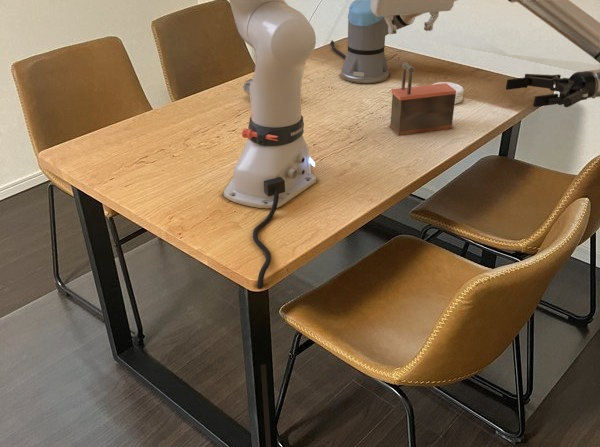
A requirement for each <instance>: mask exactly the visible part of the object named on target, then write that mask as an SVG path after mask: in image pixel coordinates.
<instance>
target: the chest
mask: <svg viewBox="0 0 600 447" xmlns="http://www.w3.org/2000/svg"><path fill="white" fill-rule="evenodd" d="M391 94H392V93H391ZM455 96H456V94H450V95H441V96H433V97H425V98H416V99H408V100H399V99H398V98H397V97H396V96H394V95H393V94H392V95H391V112H390V125H389V127H390V128H391V129H392V130H393V131H394V132H395V133H396V134H397V135H398V136H403V135H411V134H419V133H420V134H421V133H426V132H427V133H428V132H433V131H434V132H435V131H440V130H441V131H442V130H447V129H448V130H450V129H452V128H453V119H454V111H455V105H456V104H455Z"/></svg>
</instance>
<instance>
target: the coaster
mask: <svg viewBox="0 0 600 447" xmlns="http://www.w3.org/2000/svg"><path fill="white" fill-rule="evenodd" d="M443 83H446V84H448V85H449V86H450V87H452V88H453V89H455V90H456V96H455V104H454V105H456V104H459V103H461V102H462V101H463V99H464V91H465V88H464V87H463V86H462V85H460V84H458V83H455V82H449V81H440V82H439V81H438V82H435V83H432V84H431V85H434V84H443Z"/></svg>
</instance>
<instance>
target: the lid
mask: <svg viewBox="0 0 600 447" xmlns="http://www.w3.org/2000/svg"><path fill="white" fill-rule="evenodd" d="M401 68H402V74H401V75H402V76H401V86H400V87H399V88H392V89H390V93H391V94H393V95H394V96H396V97H397V98H398V99H399V100H408V99H416V98H425V97H433V96H441V95H450V94H456V90H455V89H453V88H452V87H450V86H449V85H448V84H446V83H443V84H434V83H433V84H434V85H432V84H427V85H425V84H424V85H418V86H412V83H413V82H412V81H413V80H412V79H413V73H414V71H415V68H414V66H412V65H411V64H410V63H408V62H407V61H403V62H401ZM407 72H408V76H407ZM406 79H407V80H406ZM406 81H407V87H406Z"/></svg>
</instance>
